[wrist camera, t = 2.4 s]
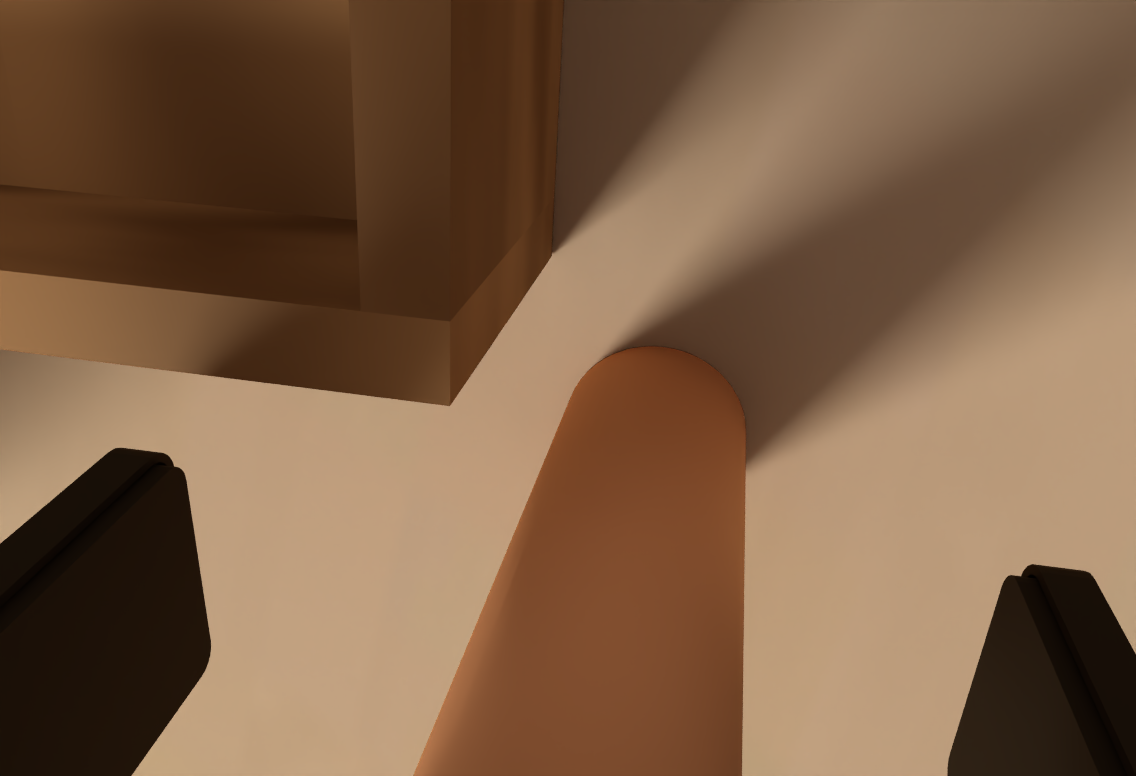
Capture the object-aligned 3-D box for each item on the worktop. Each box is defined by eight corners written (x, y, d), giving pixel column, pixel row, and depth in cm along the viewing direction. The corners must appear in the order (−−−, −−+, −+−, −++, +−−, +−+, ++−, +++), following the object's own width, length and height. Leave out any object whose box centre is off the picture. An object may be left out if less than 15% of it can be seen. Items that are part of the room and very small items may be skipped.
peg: (757, 357, 16) (765, 856, 7) (733, 519, 17) (713, 1112, 8) (570, 336, 17) (355, 781, 8) (561, 496, 18) (368, 1036, 9)
